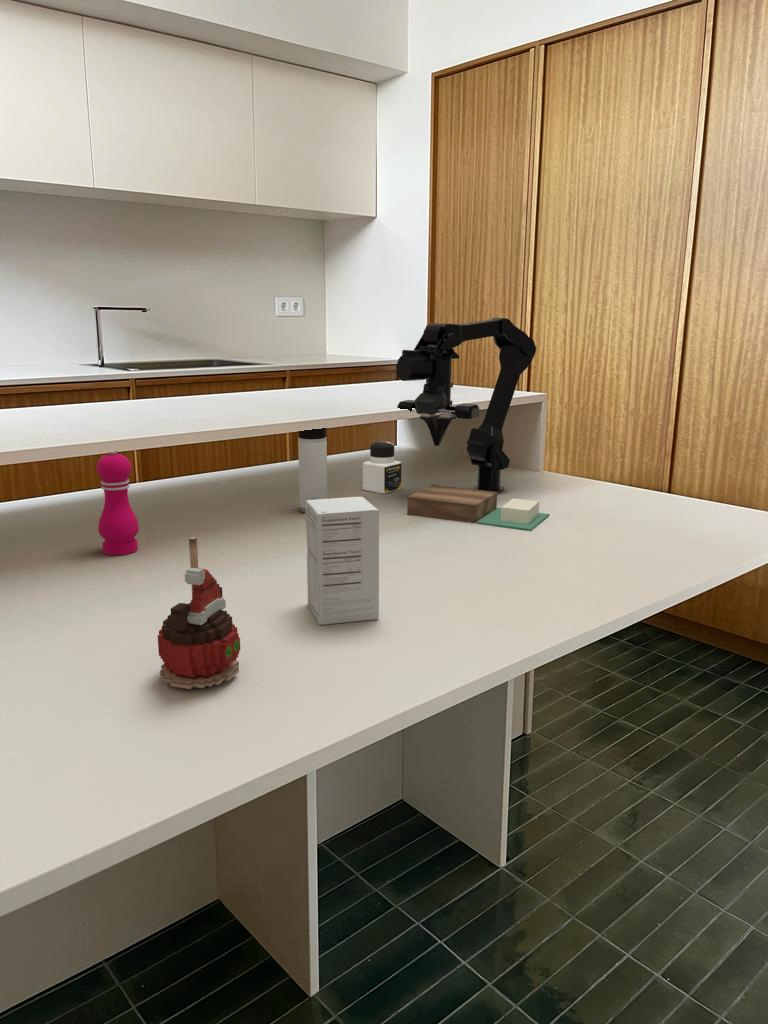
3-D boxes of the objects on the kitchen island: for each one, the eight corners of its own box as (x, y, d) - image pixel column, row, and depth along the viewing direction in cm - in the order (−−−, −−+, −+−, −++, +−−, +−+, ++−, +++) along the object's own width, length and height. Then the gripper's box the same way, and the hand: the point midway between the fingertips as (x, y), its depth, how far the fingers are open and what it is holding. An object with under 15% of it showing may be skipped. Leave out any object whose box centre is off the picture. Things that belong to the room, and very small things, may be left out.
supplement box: (380, 620, 118) (381, 510, 113) (319, 626, 115) (317, 514, 111) (363, 597, 126) (363, 494, 122) (306, 603, 124) (304, 498, 120)
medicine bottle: (384, 494, 195) (385, 446, 192) (362, 490, 200) (362, 442, 197) (401, 489, 201) (402, 442, 198) (379, 485, 205) (379, 439, 202)
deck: (432, 501, 189) (432, 484, 188) (496, 509, 182) (497, 492, 181) (407, 514, 177) (407, 496, 176) (474, 523, 170) (475, 505, 169)
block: (539, 501, 175) (538, 514, 176) (512, 498, 178) (512, 511, 179) (528, 510, 167) (527, 524, 168) (501, 507, 170) (500, 520, 171)
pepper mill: (129, 542, 154) (121, 440, 149) (147, 550, 149) (140, 445, 144) (93, 550, 149) (84, 445, 144) (111, 559, 144) (102, 450, 139)
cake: (189, 653, 106) (181, 523, 101) (253, 663, 103) (248, 529, 99) (143, 689, 96) (132, 547, 91) (212, 700, 93) (205, 554, 89)
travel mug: (311, 515, 175) (310, 425, 170) (294, 509, 180) (292, 421, 175) (333, 511, 179) (333, 422, 174) (316, 505, 184) (315, 419, 179)
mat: (497, 509, 182) (497, 507, 182) (549, 515, 177) (549, 514, 177) (476, 523, 170) (476, 521, 170) (530, 531, 165) (530, 529, 164)
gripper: (386, 379, 181) (386, 447, 184) (463, 384, 172) (461, 454, 176) (407, 376, 190) (406, 440, 194) (481, 380, 182) (478, 447, 186)
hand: (437, 445), depth 187 cm, fingers closed
